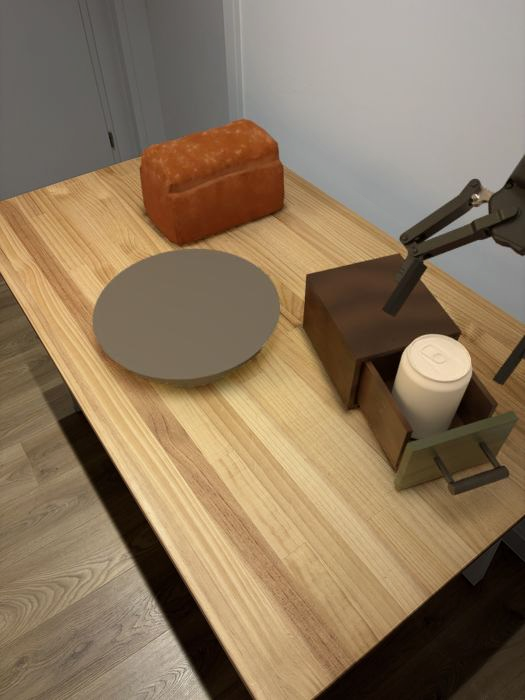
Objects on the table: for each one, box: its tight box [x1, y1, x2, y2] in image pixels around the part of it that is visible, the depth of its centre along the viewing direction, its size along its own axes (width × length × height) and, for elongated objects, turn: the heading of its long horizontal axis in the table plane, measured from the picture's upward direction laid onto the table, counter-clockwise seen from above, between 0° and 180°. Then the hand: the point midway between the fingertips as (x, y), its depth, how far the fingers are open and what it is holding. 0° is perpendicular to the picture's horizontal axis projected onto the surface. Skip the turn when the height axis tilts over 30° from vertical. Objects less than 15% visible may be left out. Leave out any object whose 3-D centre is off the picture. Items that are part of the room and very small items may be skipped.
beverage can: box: [391, 334, 473, 439], centre depth 68 cm, size 8×8×12 cm
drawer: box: [355, 351, 519, 497], centre depth 68 cm, size 20×14×9 cm
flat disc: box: [92, 248, 281, 389], centre depth 85 cm, size 28×28×4 cm
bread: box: [138, 118, 286, 245], centre depth 102 cm, size 17×24×15 cm
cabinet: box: [302, 252, 462, 411], centre depth 78 cm, size 17×15×11 cm
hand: (439, 346), depth 58 cm, fingers open, 13 cm apart
